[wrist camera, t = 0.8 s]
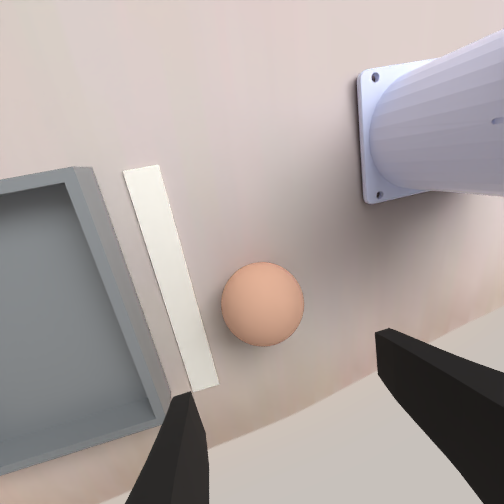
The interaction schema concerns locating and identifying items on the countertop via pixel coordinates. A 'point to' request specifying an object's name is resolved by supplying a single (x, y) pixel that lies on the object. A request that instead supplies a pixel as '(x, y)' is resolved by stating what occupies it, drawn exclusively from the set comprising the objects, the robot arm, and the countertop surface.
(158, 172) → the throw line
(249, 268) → the ball
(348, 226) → the countertop surface
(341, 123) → the countertop surface
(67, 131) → the countertop surface
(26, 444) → the tray
